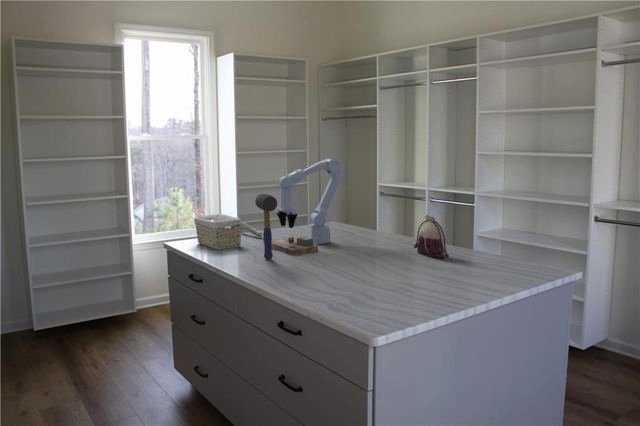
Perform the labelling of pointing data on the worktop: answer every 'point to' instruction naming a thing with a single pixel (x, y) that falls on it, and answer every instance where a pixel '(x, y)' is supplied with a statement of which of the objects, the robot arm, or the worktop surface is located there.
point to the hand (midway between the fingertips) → (287, 226)
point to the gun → (250, 230)
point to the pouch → (431, 239)
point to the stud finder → (304, 241)
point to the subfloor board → (295, 250)
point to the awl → (290, 241)
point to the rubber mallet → (267, 221)
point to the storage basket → (218, 231)
